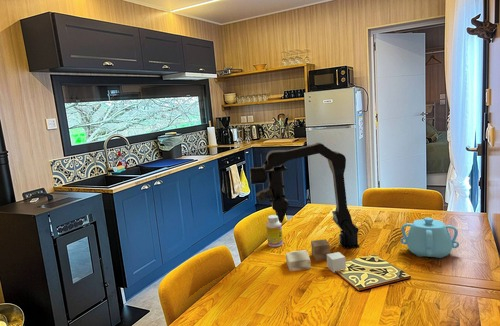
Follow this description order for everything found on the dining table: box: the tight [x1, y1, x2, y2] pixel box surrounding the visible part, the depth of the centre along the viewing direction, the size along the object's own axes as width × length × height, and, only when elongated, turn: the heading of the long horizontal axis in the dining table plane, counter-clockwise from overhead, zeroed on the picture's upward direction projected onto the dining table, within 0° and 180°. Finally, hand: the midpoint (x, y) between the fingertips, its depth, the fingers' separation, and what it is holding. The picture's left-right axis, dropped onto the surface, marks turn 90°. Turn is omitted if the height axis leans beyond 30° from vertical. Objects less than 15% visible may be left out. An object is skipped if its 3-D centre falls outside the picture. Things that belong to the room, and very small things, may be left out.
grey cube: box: [326, 251, 347, 273], centre depth 135 cm, size 5×5×5 cm
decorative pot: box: [400, 217, 460, 259], centre depth 139 cm, size 16×16×14 cm
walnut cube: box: [310, 238, 331, 262], centre depth 145 cm, size 6×6×6 cm
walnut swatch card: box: [288, 249, 311, 259], centre depth 149 cm, size 7×7×1 cm
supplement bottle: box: [265, 214, 284, 248], centre depth 162 cm, size 7×7×13 cm
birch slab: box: [285, 250, 312, 272], centre depth 140 cm, size 8×8×4 cm
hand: (279, 219), depth 151 cm, fingers open, 9 cm apart
